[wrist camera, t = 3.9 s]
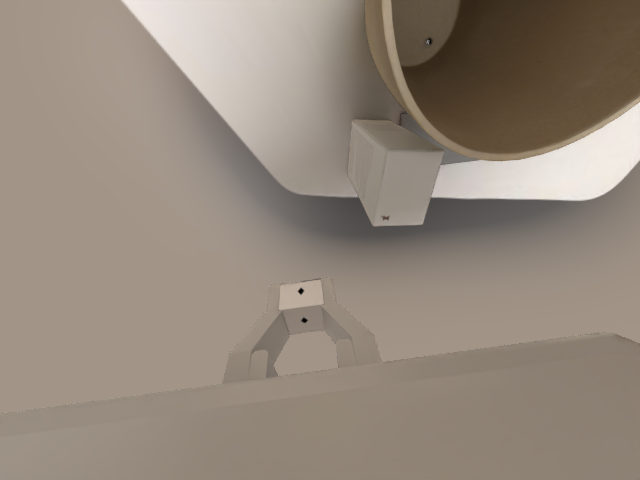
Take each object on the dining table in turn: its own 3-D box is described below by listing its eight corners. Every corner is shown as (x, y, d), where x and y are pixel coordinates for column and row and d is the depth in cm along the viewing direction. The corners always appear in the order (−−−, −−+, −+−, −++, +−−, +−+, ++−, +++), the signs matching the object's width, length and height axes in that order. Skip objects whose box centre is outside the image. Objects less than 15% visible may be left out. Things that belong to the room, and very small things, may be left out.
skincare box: (381, 173, 29) (423, 227, 19) (346, 173, 29) (370, 228, 19) (391, 117, 25) (448, 149, 16) (351, 117, 25) (384, 149, 16)
